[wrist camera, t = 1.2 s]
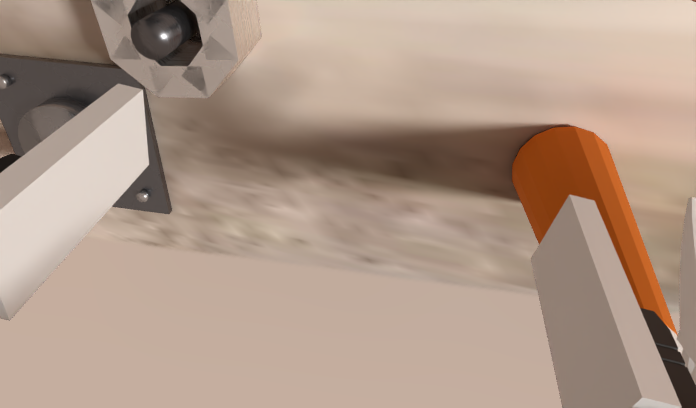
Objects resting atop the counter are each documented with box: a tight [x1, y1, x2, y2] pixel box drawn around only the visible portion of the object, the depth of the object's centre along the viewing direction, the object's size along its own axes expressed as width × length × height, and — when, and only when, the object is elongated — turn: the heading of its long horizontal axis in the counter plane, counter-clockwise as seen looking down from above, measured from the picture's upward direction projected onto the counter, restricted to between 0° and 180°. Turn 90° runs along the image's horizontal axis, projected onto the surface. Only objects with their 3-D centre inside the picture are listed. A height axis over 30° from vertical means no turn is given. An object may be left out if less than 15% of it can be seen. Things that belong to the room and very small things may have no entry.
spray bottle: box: [512, 126, 696, 385], centre depth 24 cm, size 7×11×26 cm, turn 178°
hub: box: [0, 54, 172, 214], centre depth 40 cm, size 14×14×8 cm
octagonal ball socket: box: [91, 0, 262, 98], centre depth 33 cm, size 9×9×5 cm
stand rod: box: [131, 0, 200, 60], centre depth 32 cm, size 2×2×7 cm
